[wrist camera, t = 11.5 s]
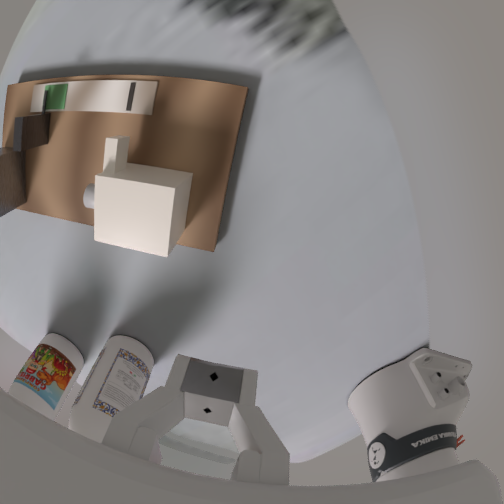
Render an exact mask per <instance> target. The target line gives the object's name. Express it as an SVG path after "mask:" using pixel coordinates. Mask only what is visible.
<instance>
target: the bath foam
mask: <svg viewBox="0 0 504 504" xmlns="http://www.w3.org/2000/svg"><path fill="white" fill-rule="evenodd" d="M153 365H154V359H153V357H152V354H151V353H150V351H149V350H148V348H147V347H146V346H144V345H143V344H142V343H141V342H139V341H137V340H136V339H133V338H131V337H128V336H122V335H118V336H113V337H111V338H110V339H109V340H108V341H107V342H106V344H105V346H104V347H103V349H102V351H101V353H100V354H99V356H98V358H97V360H96V362H95V363H94V365H93V367H92V369H91V371H90V373H89V375H88V377H87V378H86V380H85V382H84V384H83V386H82V388H81V390H80V392H79V394H78V396H77V398H76V400H75V402H74V404H73V406H72V409H71V412H70V416H69V429H70V430H72V431H74V432H76V433H78V434H80V435H83V436H85V437H87V438H89V439H91V440H94V441H96V442H98V443H102V440H103V438H104V436H105V434H106V431H107V429H108V427H109V425H110V423H111V420H112V418H113V416H114V415H115V414H117V413H118V412H120V411H122V410H123V409H125V408H127V407H128V406H130V405H131V404H133V403H135V402H136V401H138V400H140V399H141V398H142V397H143V394H144V391H145V388H146V386H147V383H148V380H149V377H150V374H151V371H152V369H153Z"/></svg>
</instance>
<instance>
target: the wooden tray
mask: <svg viewBox="0 0 504 504" xmlns="http://www.w3.org/2000/svg"><path fill="white" fill-rule="evenodd" d="M45 90H48V95H47V102H46V110H45V113H51V116H50V126H49V138H48V144H46V145H42V146H38V147H35V148H31V149H28V150H26V164H25V172H26V201H27V202H26V203H25V204H23V205H21V206H19V207H17V208H16V209H20V210H25V211H29V212H33V213H38V214H42V215H47V216H51V217H56V218H60V219H64V220H69V221H73V222H78V223H82V224H87V225H91V226H94V209H92V208H87V207H85V205H84V202H83V196H84V192H85V189H86V187H87V186H88V185H89V184H90V183H94V184H95V175H97V174H99V173H102V172H103V163H104V152H105V142H106V138H108V137H113V136H118V135H121V136H130V139H129V147H128V156H127V163H133V164H140V165H147V166H153V167H159V168H166V169H172V170H178V171H183V172H189V173H193V176H192V182H191V189H190V195H189V202H188V209H187V216H186V223H185V230H184V232H183V234H182V235H181V237H180V238H179V240H178V241H177V243H176V244H179V245H183V246H188V247H193V248H197V249H202V250H207V251H211V252H214V250H215V247H216V243H217V238H218V232H219V227H220V222H221V216H222V211H223V206H224V201H225V196H226V191H227V186H228V181H229V176H230V171H231V166H232V161H233V156H234V152H235V147H236V142H237V138H238V133H239V129H240V124H241V120H242V115H243V111H244V106H245V102H246V98H247V94H248V87H244V86H238V85H233V84H227V83H220V82H213V81H206V80H198V79H189V78H179V77H166V76H150V75H88V76H72V77H60V78H51V79H43V80H35V81H29V82H23V83H17V84H12V85H8V88H7V95H6V103H5V112H4V124H3V141H2V148H3V147H13V138H14V123H15V117H21V116H28V115H35V114H42V107H43V100H44V93H45Z"/></svg>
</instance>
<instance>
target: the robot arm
mask: <svg viewBox="0 0 504 504" xmlns="http://www.w3.org/2000/svg"><path fill="white" fill-rule="evenodd" d="M471 368H472V364H471V362H470V361H468V360H464V359H461V358H458V357H454V356H451V355H448V354H444V353H441V352H438V351H435V350H431V349H428V348H422V349H420V350H418V351H416V352H415V353H413V354H412V355H410V356H409V357H407V358H406V359H405V360H403V361H400V362H398V363H396V364H393V365H390V366H388V367H386V368H384V369H382V370H380V371H378V372H376V373H374V374H373V375H371V376H370V377H368V378H367V379H365V380H364V381H363V382H362V383H361V384H359V385H358V386H357V387H356V388H355V390H354V391H353V392H352V394H351V395H350V397H349V400H348V408H349V410H350V411H351V413H352V414H353V416H354V417H355V419H356V421H357V423H358V425H359V427H360V429H361V432H362V434H363V437H364V439H365V442H366V445H367V450H368V462H369V468H370V472H371V476H372V480H373V482H371V483H362V484H351V485H334V486H290V485H289V459H290V454H289V452H288V451H287V449H286V448H285V446H284V445H283V443H282V442H281V440H280V439H279V437H278V436H277V434H276V433H275V431H274V430H273V428H272V427H271V425H270V424H269V422H268V421H267V419H266V417H265V416H264V414H263V413H262V411H261V410H260V408H259V407H257V406H255V399H256V388H257V377H258V372H257V371H256V370H251V369H245V368H244V369H243V368H240V367H235V366H229V365H224V364H218V363H217V364H216V363H212V362H208V361H204V360H200V359H196V358H192V357H188V356H184V355H180V354H178V355H177V356H176V358H175V361H174V364H173V366H172V369H171V371H170V374H169V377H168V379H167V382H166V385H165V387H163V386H160V387H159V388H157V389H155V390H154V391H152V392H151V393H149V394H148V395H146V396H144V397H143V398H141V399H140V400H138V401H136V402H135V403H133V404H131V405H130V406H128V407H127V408H125V409H123V410H122V411H120V412H118V413H117V414H115V415H114V416H113V418H112V420H111V423H110V425H109V427H108V429H107V431H106V434H105V436H104V438H103V440H102V443H98V442H96V441H94V440H91V439H89V438H87V437H85V436H83V435H80V434H78V433H76V432H74V431H72V430H70V429H68V428H66V427H64V426H62V425H60V424H58V423H57V422H55V421H53V420H51V419H49V418H48V417H46V416H44V415H42V414H41V413H39V412H37V411H35V410H34V409H32V408H31V407H29V406H27V405H26V404H24V403H23V402H21V401H20V400H18V399H16V398H15V397H14V396H12V395H11V394H9V393H8V392H6V391H5V390H3V389H2V388H1V387H0V504H503V501H502V496H501V490H500V486H499V482H498V479H497V477H496V475H495V474H494V473H493V472H492V471H491V470H490V469H489V468H488V467H487V466H485V465H484V464H483V463H481V462H480V461H479V460H470V461H467V462H464V463H461V464H460V463H459V460H458V457H457V454H456V451H455V450H456V448H457V447H458V446H459V445H460V444H461V443H463V442H464V441H465V440H463V441H461V442H460V443H458V441H460V439H461V438H462V437H463V435H461V436H460V437H459V438H458V439H457V436H456V435H457V434H456V424H457V422H458V420H459V418H460V416H461V414H462V413H463V411H464V409H465V407H466V405H467V403H468V401H469V396H470V394H469V389H468V387H467V385H466V382H465V380H466V378H467V377H468V375H469V373H470V371H471ZM184 417H185V418H189V419H194V420H199V421H204V422H208V423H213V424H217V425H222V426H227V427H228V429H229V431H230V433H231V435H232V437H233V439H234V442H235V444H236V446H237V448H238V450H239V452H240V455H239V457H238V459H237V462H236V464H235V466H234V468H233V471H232V473H231V479H230V480H228V479H222V478H216V477H211V476H206V475H200V474H196V473H191V472H187V471H183V470H179V469H175V468H171V467H167V466H164V465H160V464H161V461H162V455H161V451H160V446H159V442H158V440H159V439H160V438H162V437H163V436H164V435H165V434H166V433H167V432H169V431H170V430H171V429H172V428H173V427H175V426H176V425H177V424H178V423H179V422H180V421H182V420H183V419H184Z"/></svg>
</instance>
